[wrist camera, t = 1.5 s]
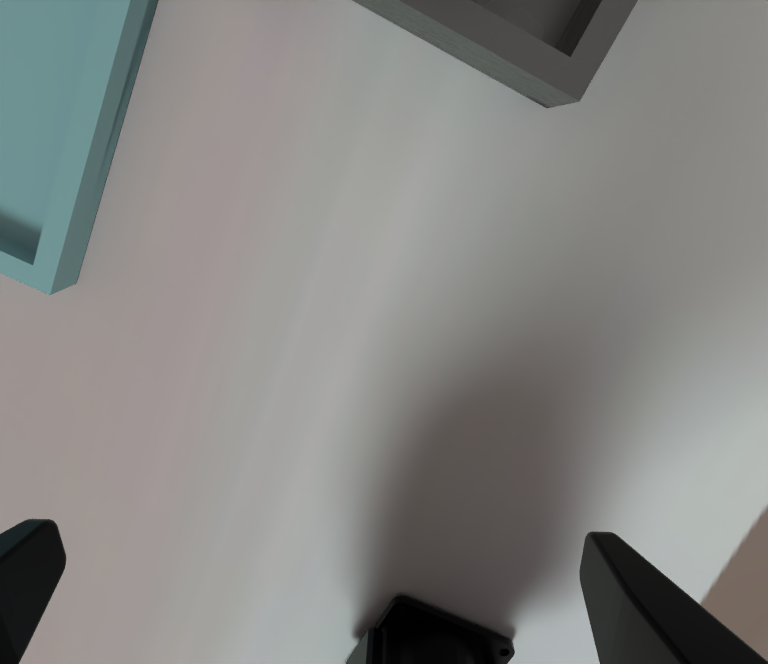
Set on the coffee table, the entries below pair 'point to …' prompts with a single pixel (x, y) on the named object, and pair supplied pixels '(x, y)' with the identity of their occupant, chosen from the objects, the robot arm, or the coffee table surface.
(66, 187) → the tray
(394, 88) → the coffee table surface
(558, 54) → the holder
